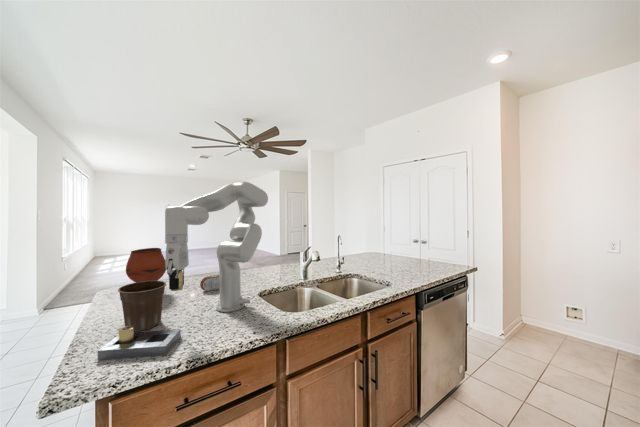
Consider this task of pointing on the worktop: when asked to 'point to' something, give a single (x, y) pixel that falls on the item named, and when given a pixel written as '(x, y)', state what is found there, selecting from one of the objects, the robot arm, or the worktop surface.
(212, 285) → the tin
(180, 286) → the brass cylinder
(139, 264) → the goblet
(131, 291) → the plant pot
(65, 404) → the worktop surface
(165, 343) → the jig
